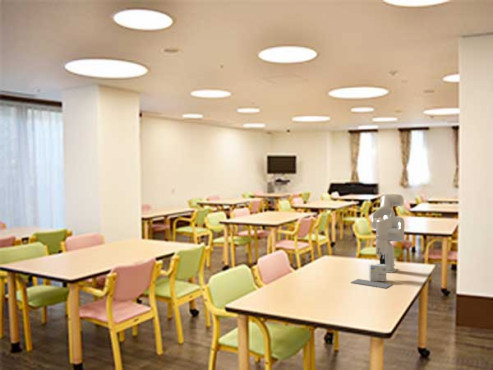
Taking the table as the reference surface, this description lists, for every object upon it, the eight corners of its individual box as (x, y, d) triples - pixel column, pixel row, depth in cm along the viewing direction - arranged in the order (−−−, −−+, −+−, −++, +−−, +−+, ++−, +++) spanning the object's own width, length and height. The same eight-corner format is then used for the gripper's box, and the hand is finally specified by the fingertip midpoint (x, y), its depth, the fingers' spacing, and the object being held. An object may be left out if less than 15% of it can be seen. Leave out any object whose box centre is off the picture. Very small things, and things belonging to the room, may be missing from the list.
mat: (357, 279, 287) (357, 278, 287) (392, 285, 271) (392, 284, 271) (350, 283, 279) (350, 282, 279) (386, 288, 263) (386, 287, 263)
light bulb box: (384, 279, 285) (384, 263, 285) (386, 281, 278) (386, 265, 279) (368, 279, 286) (368, 263, 286) (370, 281, 279) (370, 265, 280)
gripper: (381, 236, 296) (381, 262, 297) (372, 238, 285) (372, 265, 285) (391, 236, 292) (392, 263, 292) (382, 239, 280) (383, 266, 280)
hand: (382, 264), depth 288 cm, fingers closed
